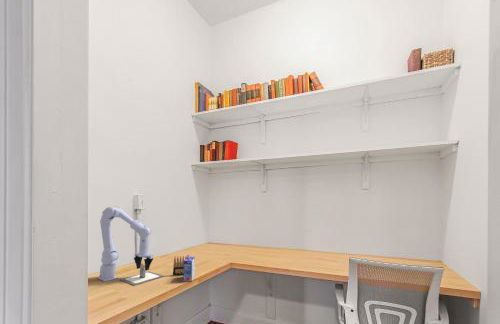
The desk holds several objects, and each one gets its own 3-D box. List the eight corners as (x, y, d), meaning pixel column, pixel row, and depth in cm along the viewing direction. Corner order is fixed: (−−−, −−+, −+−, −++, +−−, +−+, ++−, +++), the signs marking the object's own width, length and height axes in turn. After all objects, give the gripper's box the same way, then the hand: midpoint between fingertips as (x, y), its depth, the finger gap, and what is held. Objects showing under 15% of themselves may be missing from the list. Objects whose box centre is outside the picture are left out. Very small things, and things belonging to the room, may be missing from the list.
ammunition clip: (189, 274, 164) (190, 255, 165) (189, 274, 162) (190, 255, 163) (173, 274, 162) (173, 255, 163) (172, 275, 160) (173, 256, 162)
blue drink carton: (186, 276, 159) (187, 252, 161) (195, 276, 159) (195, 252, 161) (182, 281, 149) (183, 256, 151) (191, 281, 150) (192, 256, 152)
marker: (138, 277, 154) (139, 264, 155) (142, 276, 157) (143, 263, 158) (142, 278, 153) (142, 265, 154) (146, 277, 155) (147, 263, 157)
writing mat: (119, 280, 151) (119, 279, 151) (149, 272, 167) (149, 271, 167) (133, 285, 142) (133, 284, 142) (163, 276, 158) (163, 275, 158)
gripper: (131, 246, 157) (129, 269, 155) (147, 249, 150) (145, 272, 149) (140, 245, 163) (138, 266, 161) (156, 247, 157) (154, 269, 155)
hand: (142, 269), depth 155 cm, fingers open, 7 cm apart
